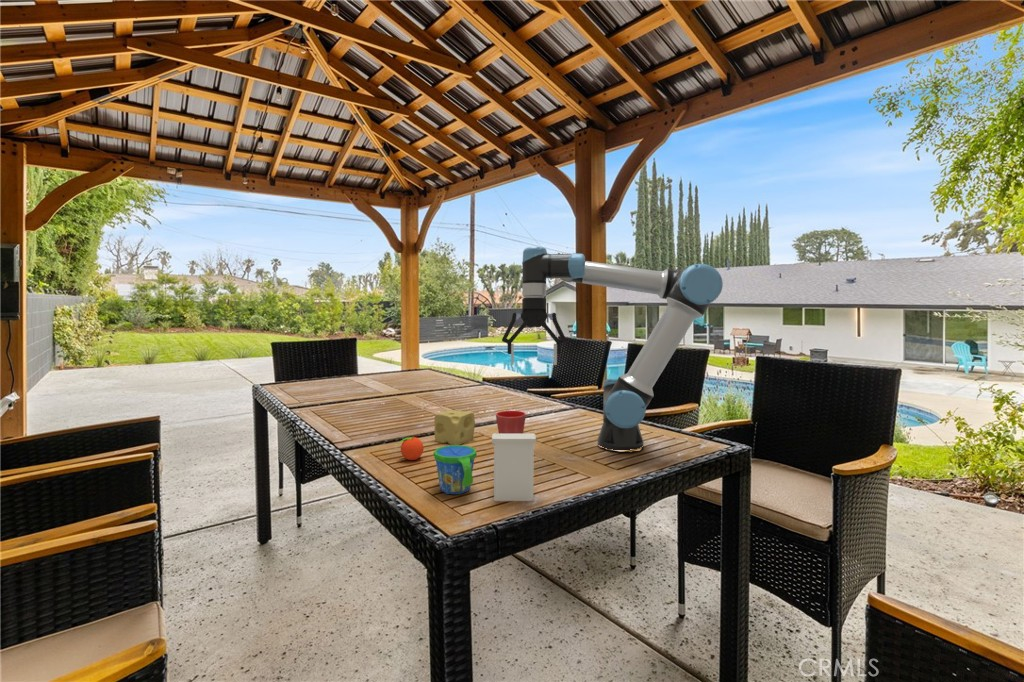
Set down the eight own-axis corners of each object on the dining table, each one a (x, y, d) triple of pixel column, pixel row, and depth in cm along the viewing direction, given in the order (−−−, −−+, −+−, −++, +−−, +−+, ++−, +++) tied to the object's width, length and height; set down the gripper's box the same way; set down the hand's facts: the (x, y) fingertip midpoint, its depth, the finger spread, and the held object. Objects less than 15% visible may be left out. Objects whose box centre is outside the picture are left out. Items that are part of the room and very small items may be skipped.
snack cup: (485, 497, 114) (485, 456, 113) (443, 504, 109) (443, 462, 109) (464, 477, 128) (464, 440, 127) (427, 483, 124) (426, 445, 123)
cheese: (456, 446, 158) (456, 417, 157) (432, 441, 164) (432, 413, 163) (475, 439, 167) (475, 412, 166) (452, 435, 173) (452, 408, 172)
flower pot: (492, 444, 161) (492, 416, 160) (499, 435, 172) (499, 409, 171) (523, 445, 159) (523, 417, 159) (527, 437, 170) (527, 410, 170)
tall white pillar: (532, 483, 124) (532, 426, 123) (535, 501, 111) (535, 438, 110) (493, 483, 124) (493, 426, 123) (491, 501, 111) (492, 438, 110)
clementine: (398, 464, 138) (398, 441, 138) (395, 458, 145) (395, 435, 144) (425, 461, 141) (425, 438, 141) (421, 455, 148) (421, 433, 147)
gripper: (572, 298, 151) (571, 363, 152) (494, 297, 150) (494, 363, 152) (575, 297, 143) (574, 365, 145) (494, 296, 143) (494, 365, 144)
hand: (533, 364), depth 148 cm, fingers open, 13 cm apart
